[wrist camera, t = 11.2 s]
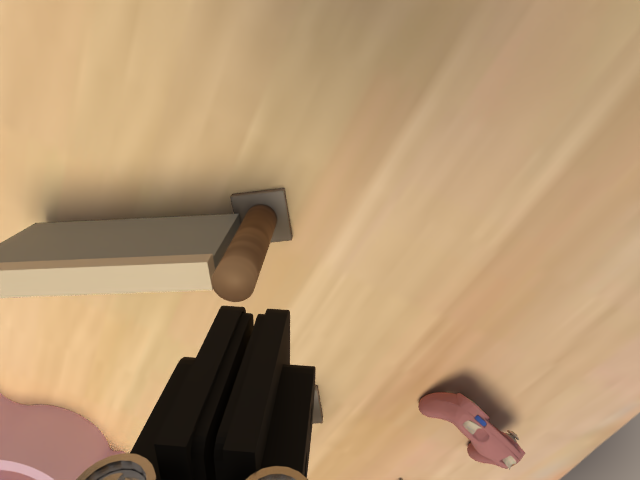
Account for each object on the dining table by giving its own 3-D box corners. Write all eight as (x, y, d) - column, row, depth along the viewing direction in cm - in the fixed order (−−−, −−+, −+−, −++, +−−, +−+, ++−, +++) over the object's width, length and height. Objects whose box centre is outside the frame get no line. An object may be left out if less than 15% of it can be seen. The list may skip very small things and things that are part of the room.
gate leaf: (238, 210, 35) (207, 262, 26) (241, 233, 36) (212, 290, 27) (34, 220, 36) (-60, 273, 27) (42, 242, 37) (-47, 299, 28)
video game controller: (493, 421, 47) (544, 457, 40) (468, 455, 46) (515, 497, 40) (438, 368, 44) (483, 397, 37) (410, 403, 44) (451, 439, 37)
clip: (-70, 427, 48) (-131, 484, 42) (-38, 356, 44) (-101, 407, 37) (94, 500, 52) (61, 562, 46) (138, 442, 48) (108, 501, 42)
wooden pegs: (232, 194, 36) (188, 254, 25) (284, 188, 35) (262, 246, 25) (281, 420, 46) (265, 530, 35) (322, 417, 45) (318, 528, 35)
